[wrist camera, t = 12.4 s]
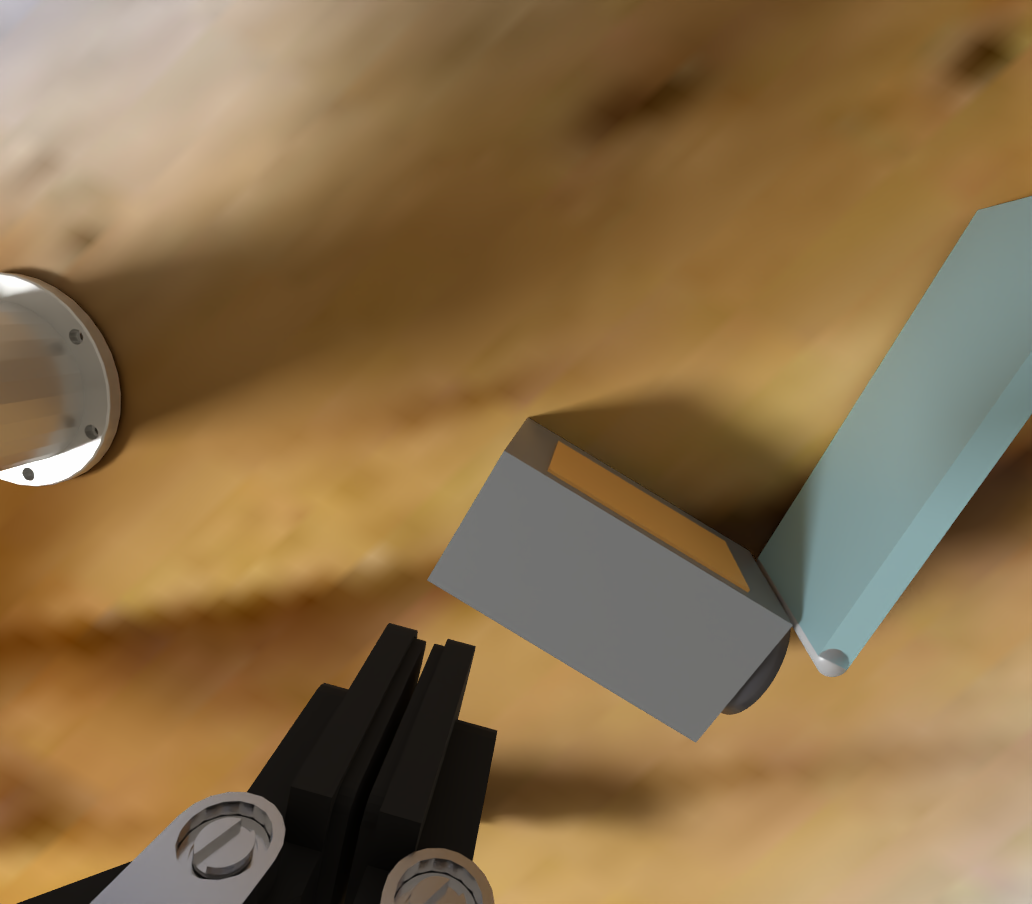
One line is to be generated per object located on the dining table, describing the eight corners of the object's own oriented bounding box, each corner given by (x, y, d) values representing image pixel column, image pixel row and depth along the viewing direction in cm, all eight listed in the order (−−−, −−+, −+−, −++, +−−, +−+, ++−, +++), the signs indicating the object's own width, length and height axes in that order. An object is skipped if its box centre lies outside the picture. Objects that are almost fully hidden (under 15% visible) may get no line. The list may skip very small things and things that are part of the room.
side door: (977, 210, 27) (1164, 161, 18) (1022, 230, 27) (1233, 192, 18) (752, 567, 33) (809, 667, 23) (789, 585, 33) (861, 693, 23)
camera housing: (466, 520, 35) (427, 580, 27) (529, 415, 33) (506, 447, 25) (693, 657, 35) (718, 756, 27) (769, 560, 33) (820, 637, 25)
